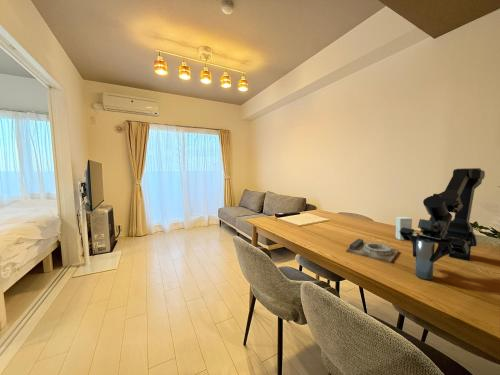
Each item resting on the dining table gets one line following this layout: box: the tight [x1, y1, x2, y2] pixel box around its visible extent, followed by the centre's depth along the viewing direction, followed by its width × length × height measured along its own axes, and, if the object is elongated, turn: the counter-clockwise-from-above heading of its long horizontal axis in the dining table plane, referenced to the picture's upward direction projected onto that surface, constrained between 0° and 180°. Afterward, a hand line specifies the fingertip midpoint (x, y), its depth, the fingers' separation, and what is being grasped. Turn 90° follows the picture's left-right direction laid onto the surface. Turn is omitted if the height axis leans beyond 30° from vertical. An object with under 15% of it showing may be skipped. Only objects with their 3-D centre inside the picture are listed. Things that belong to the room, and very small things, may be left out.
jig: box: [345, 238, 400, 264], centre depth 98 cm, size 18×16×3 cm
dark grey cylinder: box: [414, 239, 436, 281], centre depth 74 cm, size 5×5×13 cm
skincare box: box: [395, 216, 413, 241], centre depth 114 cm, size 6×4×12 cm
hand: (422, 259), depth 73 cm, fingers closed on dark grey cylinder, 5 cm apart
